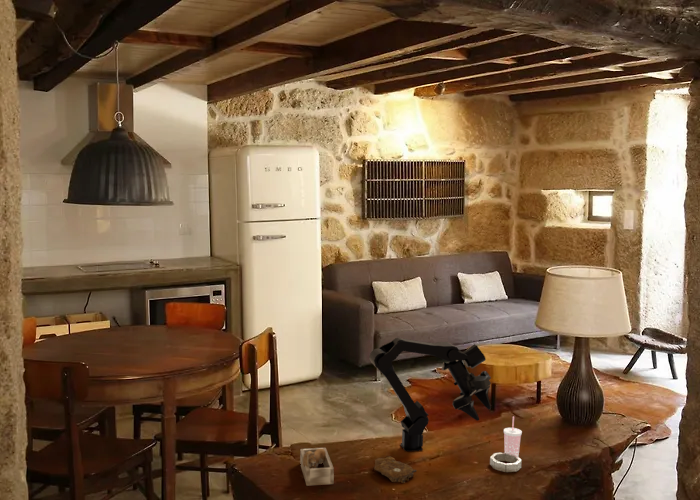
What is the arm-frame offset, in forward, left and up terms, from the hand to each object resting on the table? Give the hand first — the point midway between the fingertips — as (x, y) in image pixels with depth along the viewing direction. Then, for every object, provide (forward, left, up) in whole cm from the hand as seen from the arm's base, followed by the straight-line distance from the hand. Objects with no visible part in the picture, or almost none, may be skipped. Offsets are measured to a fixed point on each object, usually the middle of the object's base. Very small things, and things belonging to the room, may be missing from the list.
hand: (484, 414), depth 247 cm
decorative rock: (-37, -15, -13) cm, 41 cm away
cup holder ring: (+2, -14, -13) cm, 19 cm away
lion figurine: (-61, -11, -13) cm, 63 cm away
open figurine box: (-61, -11, -13) cm, 63 cm away
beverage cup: (+8, -7, -13) cm, 17 cm away
